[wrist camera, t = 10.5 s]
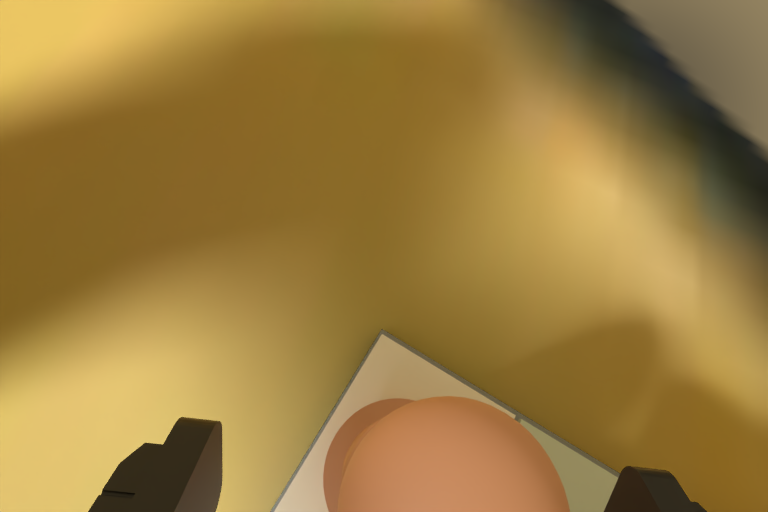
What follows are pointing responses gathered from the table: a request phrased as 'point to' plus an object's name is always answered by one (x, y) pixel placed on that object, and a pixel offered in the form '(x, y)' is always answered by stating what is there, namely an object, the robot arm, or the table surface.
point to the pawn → (438, 461)
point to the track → (425, 380)
